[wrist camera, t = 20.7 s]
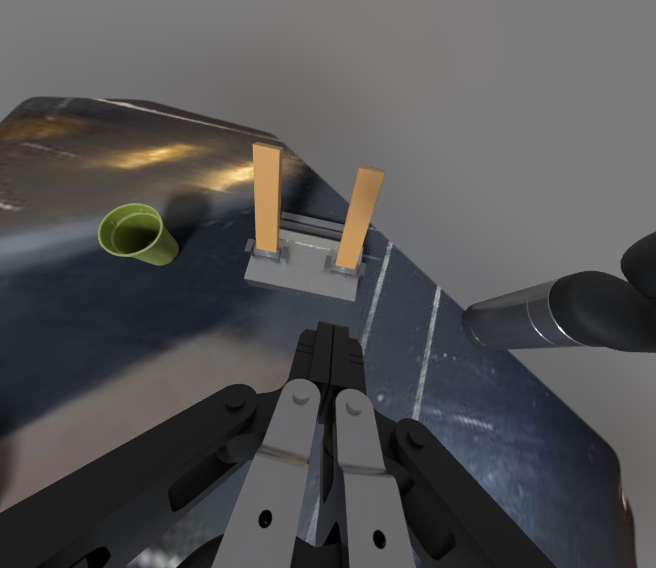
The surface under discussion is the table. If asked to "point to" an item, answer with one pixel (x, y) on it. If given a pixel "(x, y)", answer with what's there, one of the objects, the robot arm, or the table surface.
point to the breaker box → (304, 269)
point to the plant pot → (137, 234)
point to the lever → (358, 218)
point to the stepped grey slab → (311, 226)
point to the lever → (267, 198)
